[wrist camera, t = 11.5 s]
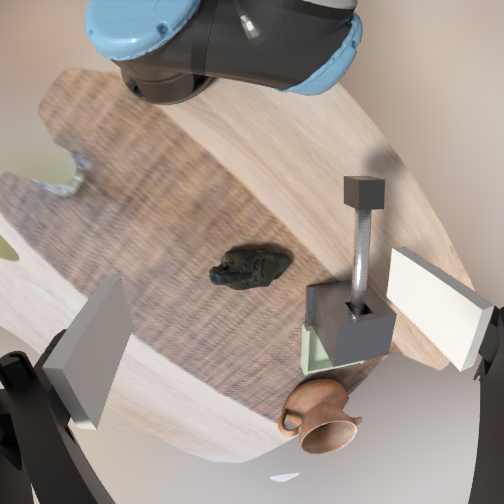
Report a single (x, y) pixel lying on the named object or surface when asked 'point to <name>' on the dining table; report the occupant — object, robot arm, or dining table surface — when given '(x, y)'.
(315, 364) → the tray
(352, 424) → the ceramic jug
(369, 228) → the shaft
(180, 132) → the dining table surface
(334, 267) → the dining table surface
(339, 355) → the bearing block
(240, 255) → the stone
